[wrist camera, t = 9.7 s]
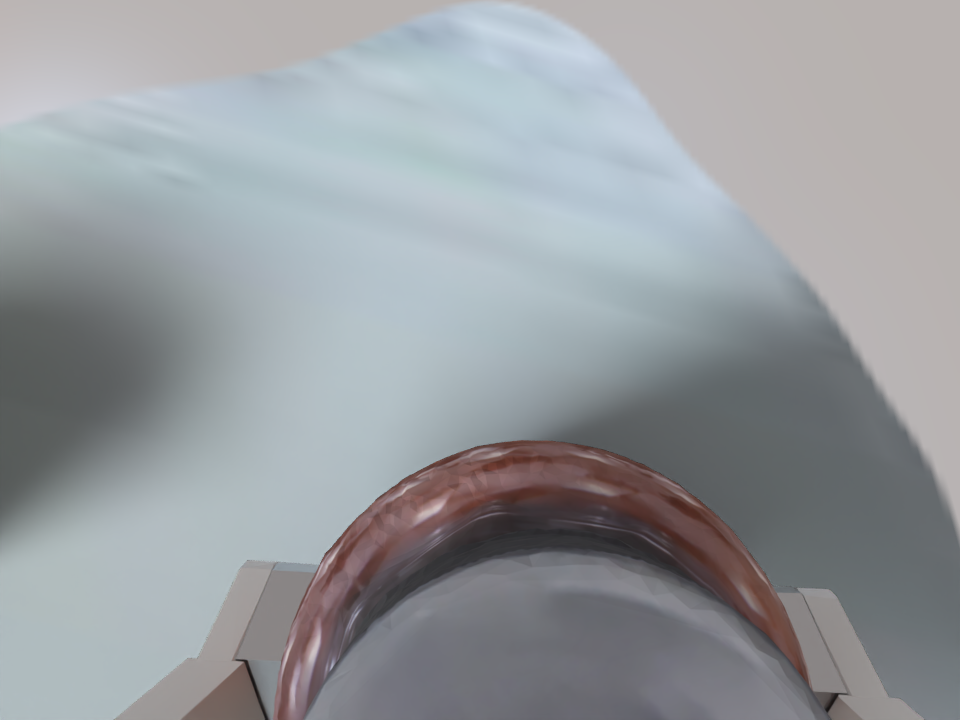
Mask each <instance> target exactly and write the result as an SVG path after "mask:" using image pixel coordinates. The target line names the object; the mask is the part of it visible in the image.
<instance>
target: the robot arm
mask: <svg viewBox="0 0 960 720" xmlns="http://www.w3.org/2000/svg"><path fill="white" fill-rule="evenodd" d="M318 567H319V565H315V564H301V563H286V562H274V561H255V560H247V561H246V562H245V563H244V565H243V566H242V567H241V568H240V569H239V571H238V573H237V575H236V577H235V579H234V581H233V583H232V585H231V588H230V590H229V592H228V594H227V596H226V598H225V600H224V602H223V605H222V607H221V609H220V611H219V613H218V615H217V617H216V619H215V622H214V624H213V626H212V628H211V630H210V632H209V634H208V636H207V639H206V641H205V643H204V645H203V647H202V649H201V651H200V653H199V656H198V658H187V659H186V660H185V661H183V662H182V663H181V664H180V665H179V666H177V667H176V668H175V669H174V670H173V671H171V672H170V673H169V674H168V675H167V676H166V677H164V678H163V679H162V680H161V681H160V682H158V683H157V684H156V685H155V686H154V687H152V688H151V689H150V690H149V691H148V692H146V693H145V694H144V695H143V696H142V697H140V698H139V699H138V700H137V701H136V702H134V703H133V704H132V705H131V706H130V707H128V708H127V709H126V710H125V711H124V712H122V713H121V714H120V715H119V716H118V717H116V718H115V719H114V720H273V715H274V703H275V695H276V690H277V682H278V672H279V670H280V666H281V660H282V657H283V654H284V649H285V646H286V643H287V639H288V636H289V632H290V628H291V625H292V623H293V620H294V618H295V616H296V613H297V610H298V608H299V605H300V603H301V600H302V598H303V597H304V595H305V592H306V590H307V587H308V586H309V584H310V582H311V580H312V578H313V577H314V575H315V573H316V571H317V569H318ZM773 588H774V590H775V591H776V593H777V595H778V597H779V598H780V600H781V602H782V604H783V605H784V607H785V609H786V612H787V614H788V617H789V619H790V621H791V624H792V626H793V628H794V631H795V633H796V635H797V638H798V640H799V643H800V646H801V649H802V652H803V655H804V658H805V661H806V664H807V667H808V671H809V676H810V680H811V685H812V689H813V692H814V694H815V696H816V697H817V699H818V700H819V702H820V703H821V705H822V706H823V708H824V709H825V711H826V712H827V714H828V715H829V717H830V718H831V719H832V720H925V719H923V718H922V717H921V716H920V715H919V714H918V713H917V712H915V711H914V710H913V709H912V708H911V707H910V706H908V705H907V704H906V703H905V702H904V701H903V700H902V699H900V698H891V697H889V696H888V694H887V692H886V690H885V688H884V686H883V684H882V682H881V680H880V678H879V677H878V675H877V673H876V671H875V669H874V667H873V665H872V663H871V661H870V659H869V657H868V655H867V654H866V652H865V650H864V648H863V646H862V644H861V642H860V640H859V638H858V636H857V634H856V632H855V630H854V629H853V627H852V625H851V623H850V621H849V619H848V617H847V615H846V613H845V611H844V609H843V607H842V605H841V604H840V602H839V600H838V598H837V596H836V595H835V594H834V593H833V592H832V591H831V590H829V589H821V588H793V587H791V586H773Z"/></svg>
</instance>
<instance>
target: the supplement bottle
mask: <svg viewBox="0 0 960 720" xmlns="http://www.w3.org/2000/svg"><path fill="white" fill-rule="evenodd" d="M273 720H832V719H831V718H830V717H829V715H828V714H827V712H826V711H825V709H824V708H823V706H822V705H821V703H820V702H819V700H818V699H817V697H816V696H815V694H814V692H813V689H812V685H811V680H810V676H809V671H808V667H807V664H806V661H805V658H804V655H803V652H802V649H801V646H800V643H799V640H798V638H797V635H796V633H795V631H794V628H793V626H792V624H791V621H790V619H789V617H788V614H787V612H786V609H785V607H784V605H783V604H782V602H781V600H780V598H779V597H778V595H777V593H776V591H775V590H774V588H773V586H772V584H771V583H770V581H769V579H768V578H767V576H766V574H765V573H764V571H763V570H762V569H761V567H760V566H759V565H758V563H757V562H756V561H755V559H754V558H753V557H752V555H751V554H750V553H749V551H748V550H747V549H746V547H745V546H744V545H743V543H742V542H741V541H740V540H739V538H738V537H737V536H736V534H735V533H734V532H733V531H732V529H731V528H730V527H729V526H728V525H726V524H725V523H724V522H723V521H722V520H721V519H720V518H719V517H718V516H717V515H716V514H715V513H714V512H713V511H711V510H710V509H709V508H708V507H707V506H705V505H704V504H703V503H702V502H701V501H700V500H699V499H698V498H696V497H695V496H693V495H691V494H690V493H688V492H687V491H686V490H685V489H684V488H683V487H682V486H680V485H679V484H678V483H676V482H674V481H672V480H670V479H668V478H667V477H665V476H663V475H662V474H660V473H658V472H656V471H654V470H652V469H650V468H648V467H647V466H645V465H644V464H641V463H637V462H635V461H632V460H630V459H628V458H626V457H623V456H620V455H618V454H615V453H612V452H609V451H605V450H602V449H598V448H593V447H588V446H583V445H577V444H571V443H565V442H556V441H524V440H522V441H512V442H502V443H495V444H489V445H482V446H477V447H474V448H471V449H468V450H465V451H462V452H459V453H457V454H454V455H451V456H449V457H446V458H444V459H442V460H440V461H437V462H435V463H433V464H431V465H429V466H427V467H425V468H423V469H421V470H419V471H417V472H416V473H414V474H412V475H409V476H408V477H406V478H404V479H403V480H401V481H400V482H399V483H398V484H397V485H395V486H394V487H392V488H391V489H389V490H388V491H387V492H386V493H384V494H383V495H381V496H380V497H378V498H377V499H376V500H375V501H374V503H373V504H371V505H370V507H369V508H368V509H367V510H366V511H365V512H363V513H362V514H361V515H359V516H358V517H357V518H356V520H355V521H354V522H353V523H352V524H351V525H350V526H349V527H348V528H347V529H346V530H345V532H344V533H343V534H342V536H341V537H340V538H339V539H338V540H337V541H336V542H335V543H334V545H333V546H332V548H330V549H329V550H328V551H327V552H326V553H325V555H324V557H323V559H322V561H321V563H320V565H319V567H318V569H317V571H316V573H315V575H314V577H313V578H312V580H311V582H310V584H309V586H308V587H307V590H306V592H305V595H304V597H303V598H302V600H301V603H300V605H299V608H298V610H297V613H296V616H295V618H294V620H293V623H292V625H291V628H290V632H289V636H288V639H287V643H286V646H285V649H284V654H283V657H282V660H281V666H280V670H279V672H278V682H277V690H276V695H275V703H274V715H273Z"/></svg>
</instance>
